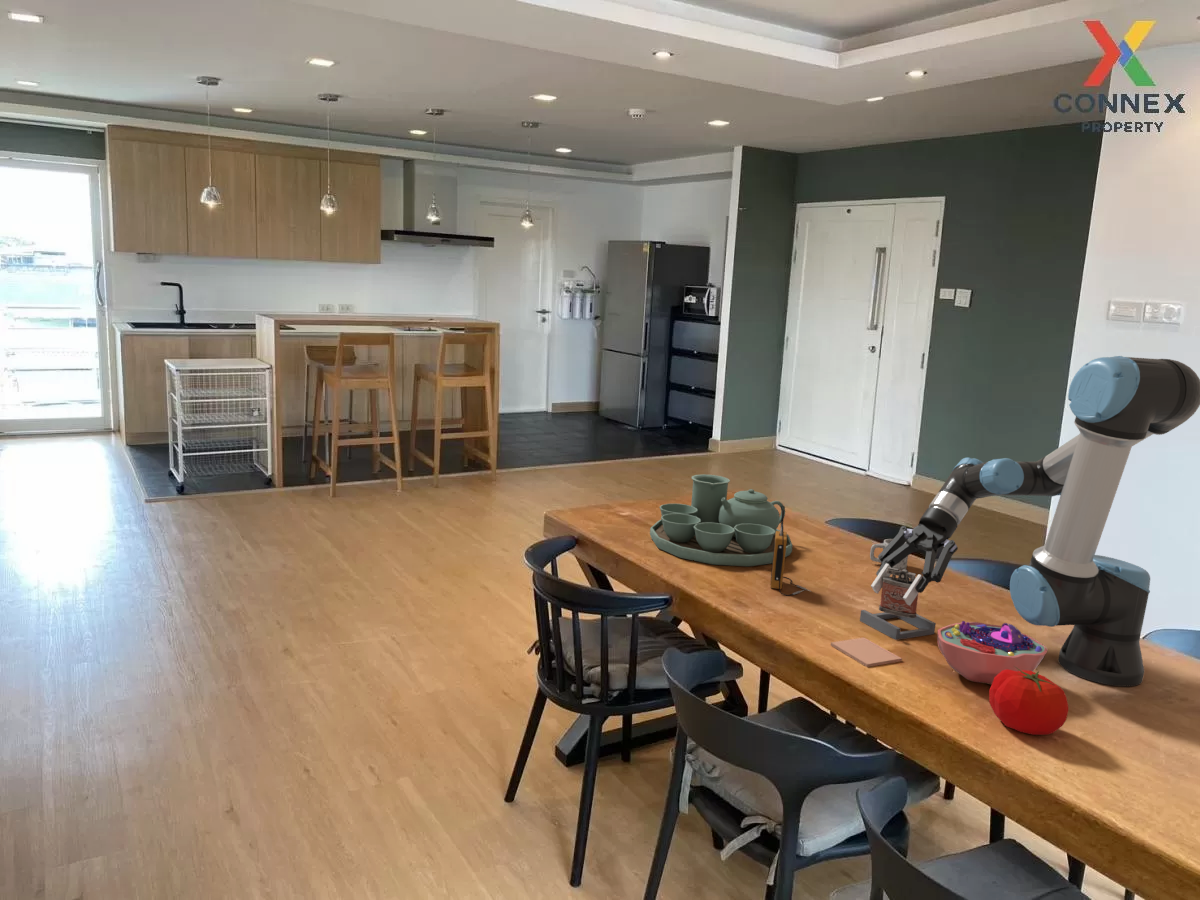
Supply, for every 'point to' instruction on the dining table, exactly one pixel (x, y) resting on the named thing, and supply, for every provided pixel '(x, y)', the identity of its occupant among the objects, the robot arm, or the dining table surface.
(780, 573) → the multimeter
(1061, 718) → the tomato
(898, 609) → the lighter
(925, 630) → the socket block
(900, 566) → the mug
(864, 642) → the mat
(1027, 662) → the cell model
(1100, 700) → the dining table surface
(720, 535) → the tea set
